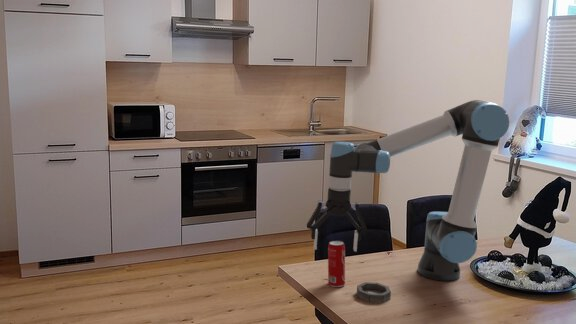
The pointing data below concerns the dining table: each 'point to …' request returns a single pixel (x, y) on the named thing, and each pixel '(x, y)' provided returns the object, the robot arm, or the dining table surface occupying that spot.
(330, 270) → the beverage can
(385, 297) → the collar
